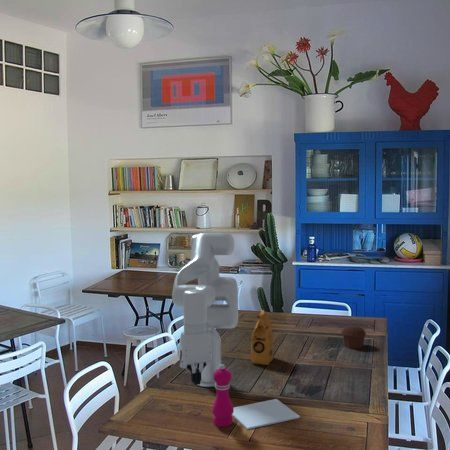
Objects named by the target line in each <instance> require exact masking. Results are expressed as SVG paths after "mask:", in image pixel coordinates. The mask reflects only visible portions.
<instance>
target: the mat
mask: <svg viewBox="0 0 450 450" xmlns="http://www.w3.org/2000/svg"><path fill="white" fill-rule="evenodd" d="M233 409H234V412H233V414H232V415H231V416H232V418H234V419H235V420H236V421H237V422H238V423H239V424H240V425H242V427H244V429H246V430H251V429H256V428H260V427H265V426H269V425H273V424H279V423H283V422H287V421H291V420H297V419H300V417H301V416H300V415H299V414H298V413H296V412H295V411H294V410H292V409H291V408H290V407H289V406H287V405H286V404H284V403H282V402H281V400H279V399H277V398H274V399H268V400H265V401H264V400H263V401H259V402H255V403H250V404H244V405H240V406H233Z"/></svg>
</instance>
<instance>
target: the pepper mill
mask: <svg viewBox="0 0 450 450" xmlns="http://www.w3.org/2000/svg"><path fill="white" fill-rule="evenodd" d="M213 378H214V381H215V382H216V383H215V386H214V388H215V389H216V395H215V396H216V397H215V400H214V402H213V403H212V407H211V413H212V414H213V424H214V426H217V427H220V428H221V427H222V428H226V427H228V426H229V427H230V426H231V425H232V424H233V416H232V414H233V412H234V409H233V408H234V405H233V402H232V400H231V398H230V395H229V394H230V393H229V390H230V388H231V383H230V382H231V380H232V373H231V371H230V370H229V369H228V368H226V366H225V364H222V363H221V365H220V369H217V370H216V371H215V372H214V375H213Z"/></svg>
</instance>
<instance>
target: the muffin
mask: <svg viewBox="0 0 450 450" xmlns="http://www.w3.org/2000/svg"><path fill="white" fill-rule="evenodd" d="M340 333H341V335H342V339H343V345H344V347H345V348H347V349H354V350H357V349H358V350H360V349H362V348H363V347H364V344H365V343H364V342H365V337H366V334H367V333H366V330H365V329H364V328H362V327H361V326H359V325H356V324H350V325H346V326H345V327H343V329H342V331H341V332H340Z"/></svg>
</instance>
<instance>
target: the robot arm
mask: <svg viewBox="0 0 450 450" xmlns="http://www.w3.org/2000/svg"><path fill="white" fill-rule="evenodd" d="M189 245H190V248H191V252H190V259H189V260H190V261H189V262H188V263H186V264H185V265H184V266H183V267H181V269H180V270H179V271H178V272H177V273H176V276H175V278H174V282H173V285H172V286H173V287H172V294H171V299H172V304H174V306H176V307H177V308H182V309H183V311H182V312H183V313H182V314H183V331H182V332H181V333H180V337H179V345H178V348H179V349H178V360H179V361H180V362H179V367H180V368H181V369H188V371H190V381H191V382H192V384H194V386H199V387H205V388H212V387H213V388H215V383H216V382H215V381H214V378H213V375H214V372H215V371H216V370H217V369H220V365H221V364H222V347H221V346H222V342H221V341H222V340H221V337H220V334H219V332H218V331H217V330H216V329H234V328H236V327H237V326H238V323H239V287H238V283H237V279H236V278H234V277H232V276H231V277H230V276H221V275H220V264H219V262H218V260H217V258H215V256H231V255H232V254H233V252H234V249H235V240H234V236H233V235H232V234H231V233H228V232H202V233H198V234H197V233H196V234H194V235H192V236H191V237H190V239H189ZM193 280H197V284H187V283H189V282H192V281H193ZM215 301H216V302H217V301H219V302H220V301H221V302H223V301H224V302H226V304H225V303H221V304H220V303H219V304H217V303H214V302H215Z"/></svg>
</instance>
